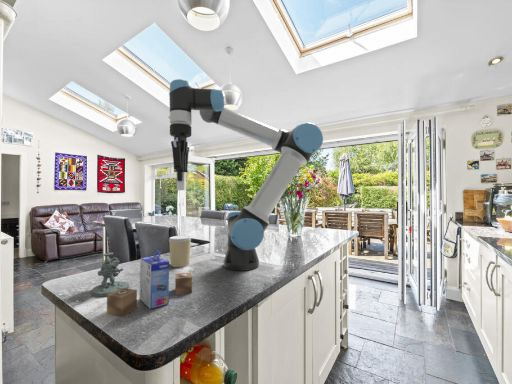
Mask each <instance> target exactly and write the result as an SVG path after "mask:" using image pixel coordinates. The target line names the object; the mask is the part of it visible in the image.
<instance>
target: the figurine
mask: <svg viewBox="0 0 512 384" xmlns="http://www.w3.org/2000/svg"><path fill="white" fill-rule="evenodd" d="M102 255H103V257H106V258H105V260H103V263H102V265H101V267H100V270H98V271H97V275H98V276H100V277H103V279H102V281H101V282H100V284H99V285H96V286H94V287H92V288H91V290H90V294H91V296H93V297H95V298H97V297H98V298H104V297H106V298H107V295H108V294H110V293H113V292H115V291H117V290H119V289H121V288H125V289H130V287H129V286H130V284H129V282H127V281H123V280H122V281H121V280H120V281H118V280H117V281H116V277H119V275H120V273H121V272H122V271H123V270H124V268H118V266H119V264H120V261H121V260H120V259H119V258H117V257H115V256H113V257H111V258H110V256H112V255H114V252H109V251H107V252H106V253H103V254H102ZM108 279H109V282H108Z"/></svg>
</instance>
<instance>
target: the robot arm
mask: <svg viewBox="0 0 512 384" xmlns="http://www.w3.org/2000/svg"><path fill="white" fill-rule="evenodd" d="M168 97H169V116H168V119H169V124H170V125H169V135H170V136H171V137H173V140H171V142H170V143H171V150H172V159H173V160H172V162H173V172H174V173H176V191H186V173H188V172H189V171H188V166H189V153H190V146H188V145H189V144H188V140H187V138H190V137H192V111H199V116H200V118H201V119H202V121H204V122H205V123H214V124H216V125H219V126H220V127H223V128H226V129H228V130H231V131H233V132H236V133H238V134H241V135H244V136H245V137H248V138H251V139H252V140H255V141H258V142H260V143H263V144H265V145H267V146H270V147H271V149H272V150H273V151H276V152H277V153H279V154H281V155H280V156H279V157H278V160H277V161H276V163H274V166H273V168H272V169H271V170H270V172H269V173H268V174H267V175H268V176H267V177H266V179H265V180H264V181H263V183H262V185H261V186H260V188H259V189H258V191H257V192H256V194H255V196H254V197H253V199H252V200H251V202H250V204H249V205H247V206H243V207H242V209H241V210H240V211H230V212H228V213H227V219H226V221H227V250H226V253H225V257H224V259H223V267H224V268H225V269H228V270H231V271H250V270H255V269H257V268H258V267H259V266H260V259H259V256H258V252H257V250H256V248H257V247H259V246H260V245H261V243H262V242H263V239H264V235H265V231H266V229H268V226H269V225H270V221H269V217H270V216H271V214H272V212H274V211H273V210H274V209H275V207H276V206H277V204H278V203H279V201H280V199H281V198H282V196H283V194H284V193H285V192H286V190H287V188H288V186H289V185H290V184H291V182H292V180H293V178H294V177H296V176H295V175H297V173H298V171H299V169H300V168H301V166H305V165H307V164H308V162H309V160H311V158H312V156H313V154H314V153H316V152H317V151H319V149H320V148H322V145H323V143H324V136H323V132H322V130H321V129H320V127H318V125H317V124H315V123H312V122H307V121H306V122H302V123H300V124H297V125H296V126H295V127H294V128H293V129H292V130H286V129H283V128H280V129H277V128H275V127H272V126H269V125H267V124H264V123H262V122H260V121H257V120H255V119H253V118H250V117H249V116H246V115H243V114H241V113H239V112H236V111H234V110H232V109H230V108H226V107H225V92H224V91H223V90H222V89H215V88H196V87H192V84H191V82H190V81H188V80H185V79H181V78H180V79H178V78H177V79H173V80H172V81H170V83H169V93H168Z"/></svg>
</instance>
